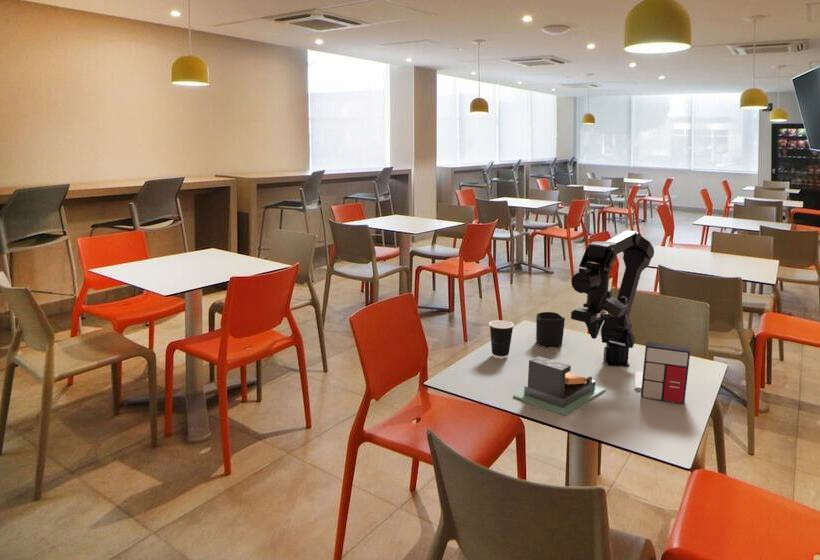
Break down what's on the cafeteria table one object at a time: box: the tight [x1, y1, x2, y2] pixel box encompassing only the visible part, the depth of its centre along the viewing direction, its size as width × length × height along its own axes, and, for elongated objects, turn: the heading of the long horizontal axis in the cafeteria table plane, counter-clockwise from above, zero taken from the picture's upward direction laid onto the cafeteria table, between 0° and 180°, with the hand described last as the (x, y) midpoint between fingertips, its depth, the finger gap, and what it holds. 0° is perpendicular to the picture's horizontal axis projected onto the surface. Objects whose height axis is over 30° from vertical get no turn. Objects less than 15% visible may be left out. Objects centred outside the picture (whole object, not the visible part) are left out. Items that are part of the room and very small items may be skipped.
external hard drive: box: [634, 370, 643, 392], centre depth 178 cm, size 2×8×12 cm
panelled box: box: [640, 342, 691, 405], centre depth 166 cm, size 11×4×15 cm, turn 67°
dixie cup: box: [488, 319, 515, 360], centre depth 198 cm, size 8×8×11 cm
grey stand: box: [523, 355, 596, 408], centre depth 170 cm, size 17×12×10 cm
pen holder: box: [535, 311, 566, 348], centre depth 210 cm, size 9×9×10 cm
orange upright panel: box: [565, 372, 587, 384], centre depth 170 cm, size 2×10×11 cm
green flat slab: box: [512, 385, 606, 417], centre depth 171 cm, size 22×16×1 cm
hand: (594, 338), depth 180 cm, fingers closed
